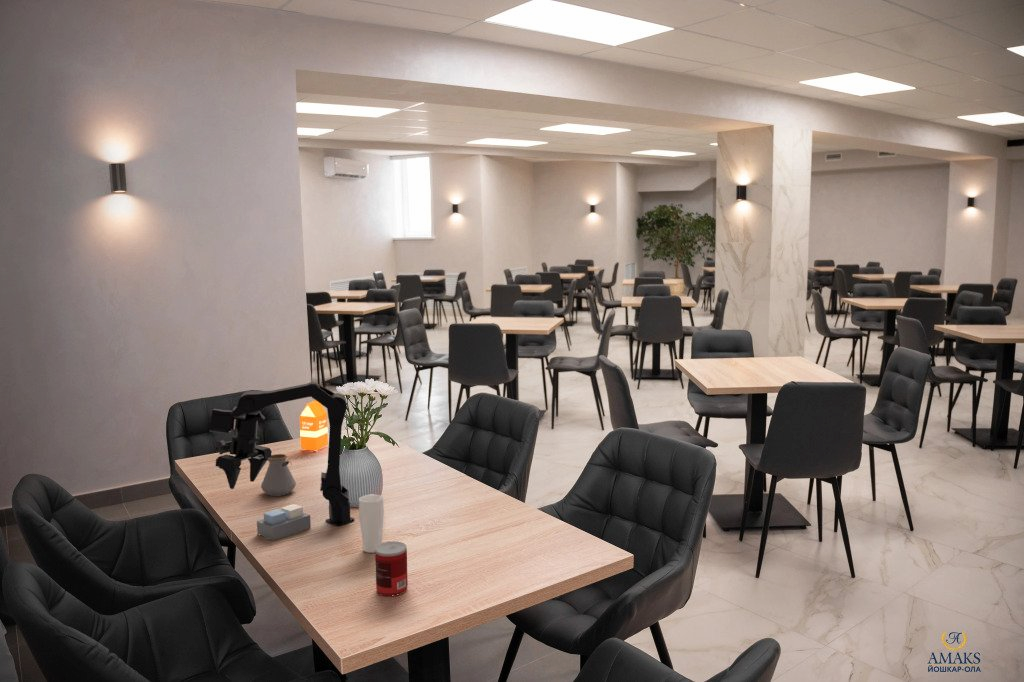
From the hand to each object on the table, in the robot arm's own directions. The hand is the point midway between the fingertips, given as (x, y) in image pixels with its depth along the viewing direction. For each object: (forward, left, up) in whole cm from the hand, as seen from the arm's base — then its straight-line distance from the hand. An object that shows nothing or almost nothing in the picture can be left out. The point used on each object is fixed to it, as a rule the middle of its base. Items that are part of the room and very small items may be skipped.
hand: (242, 485), depth 226 cm
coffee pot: (+17, -24, -14) cm, 33 cm away
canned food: (-65, -1, -14) cm, 67 cm away
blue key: (-11, -4, -11) cm, 16 cm away
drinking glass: (-42, -14, -14) cm, 47 cm away
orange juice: (+60, -68, -14) cm, 92 cm away
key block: (-11, -7, -14) cm, 19 cm away
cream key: (-11, -10, -11) cm, 18 cm away
